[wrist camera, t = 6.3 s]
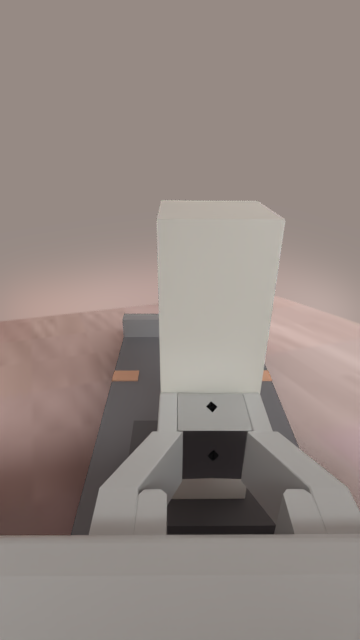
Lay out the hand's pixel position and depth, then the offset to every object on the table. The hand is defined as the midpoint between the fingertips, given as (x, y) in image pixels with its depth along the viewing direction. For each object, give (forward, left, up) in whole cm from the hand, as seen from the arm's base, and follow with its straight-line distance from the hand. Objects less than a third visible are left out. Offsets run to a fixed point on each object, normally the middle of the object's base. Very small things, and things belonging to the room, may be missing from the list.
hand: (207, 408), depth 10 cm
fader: (-1, +1, -6) cm, 6 cm away
